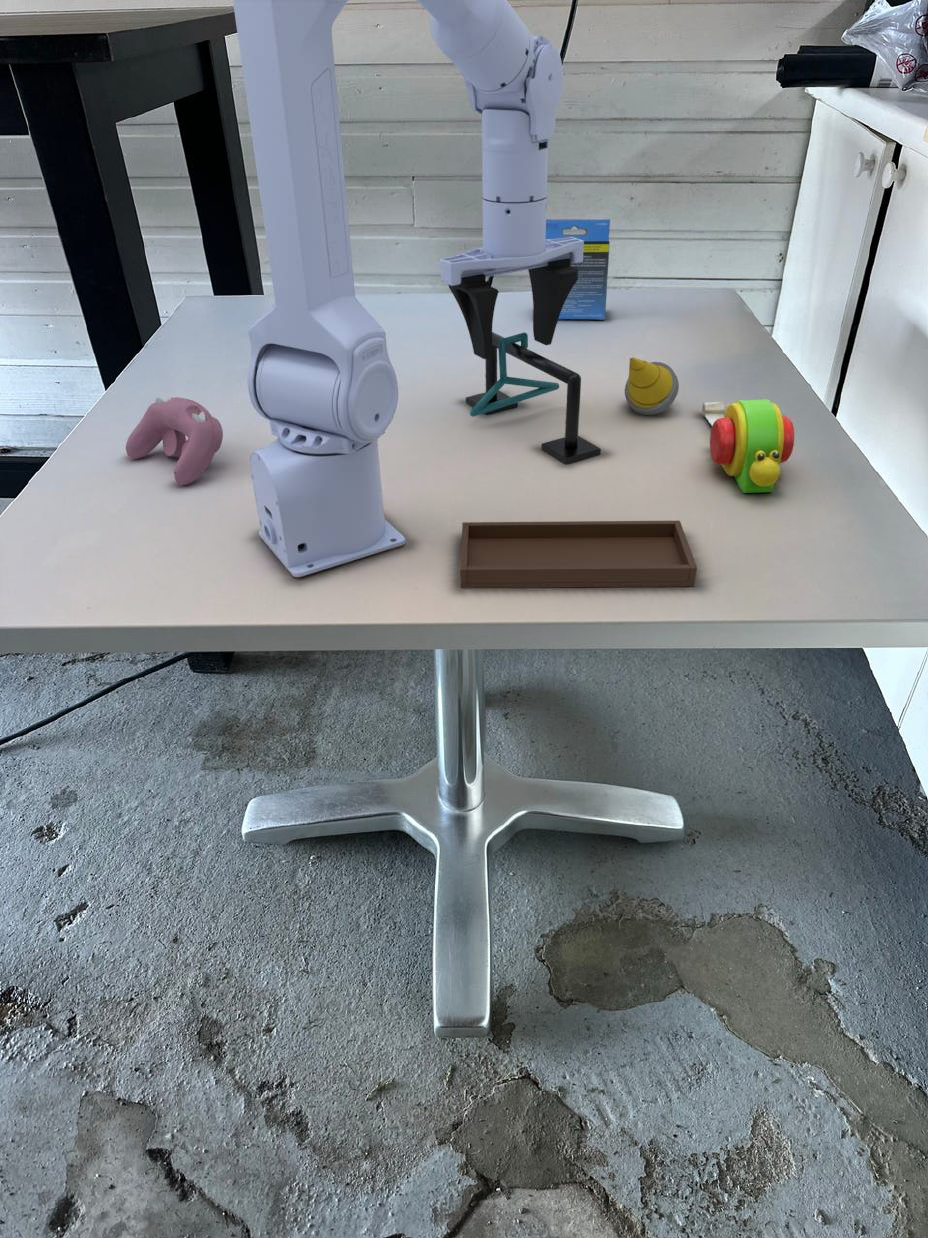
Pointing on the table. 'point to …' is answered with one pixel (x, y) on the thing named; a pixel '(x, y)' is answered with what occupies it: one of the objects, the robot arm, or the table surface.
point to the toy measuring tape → (750, 441)
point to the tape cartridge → (586, 267)
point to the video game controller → (178, 436)
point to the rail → (571, 444)
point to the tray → (575, 554)
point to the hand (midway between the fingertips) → (513, 348)
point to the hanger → (511, 381)
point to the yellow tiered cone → (650, 386)
